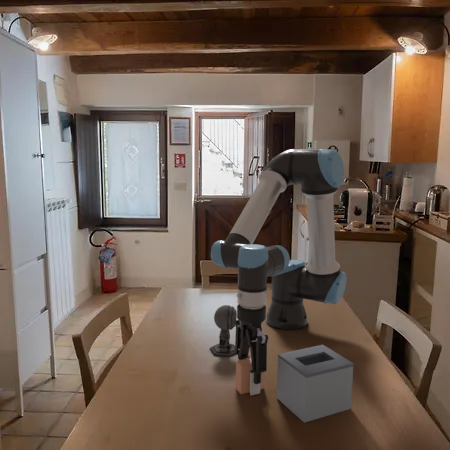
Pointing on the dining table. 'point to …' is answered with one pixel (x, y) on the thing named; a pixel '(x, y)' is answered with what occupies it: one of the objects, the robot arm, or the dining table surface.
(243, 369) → the peach rectangular block
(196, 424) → the dining table surface
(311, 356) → the coin box
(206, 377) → the dining table surface
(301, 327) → the robot arm
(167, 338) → the dining table surface
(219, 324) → the figurine
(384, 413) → the dining table surface
